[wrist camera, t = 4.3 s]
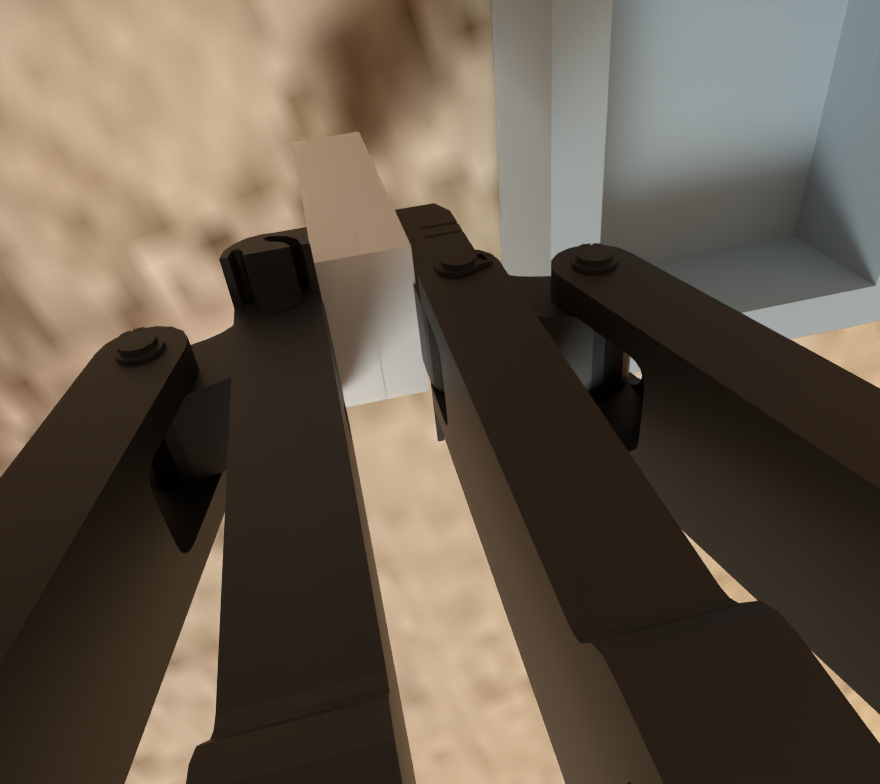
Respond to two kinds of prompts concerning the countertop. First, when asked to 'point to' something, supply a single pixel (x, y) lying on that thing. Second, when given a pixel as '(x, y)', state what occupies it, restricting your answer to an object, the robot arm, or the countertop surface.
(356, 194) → the robot arm
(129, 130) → the countertop surface
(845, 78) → the blue gray square tray
